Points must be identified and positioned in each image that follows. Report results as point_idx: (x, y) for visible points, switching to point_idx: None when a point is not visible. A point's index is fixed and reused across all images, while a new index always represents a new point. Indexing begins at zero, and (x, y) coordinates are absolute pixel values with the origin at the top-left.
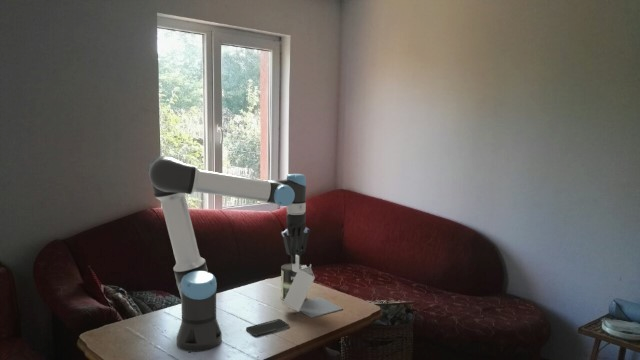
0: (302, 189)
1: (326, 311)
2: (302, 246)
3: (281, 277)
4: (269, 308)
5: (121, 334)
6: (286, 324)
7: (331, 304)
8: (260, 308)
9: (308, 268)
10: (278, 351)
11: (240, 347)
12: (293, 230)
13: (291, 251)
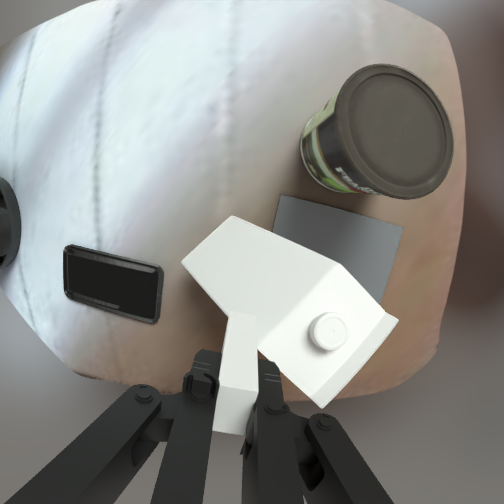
0: None
1: None
2: (344, 465)
3: (329, 101)
4: (207, 163)
5: None
6: (155, 310)
7: (373, 298)
8: (185, 141)
9: (333, 355)
10: (80, 370)
11: (33, 304)
12: None
13: (145, 455)
